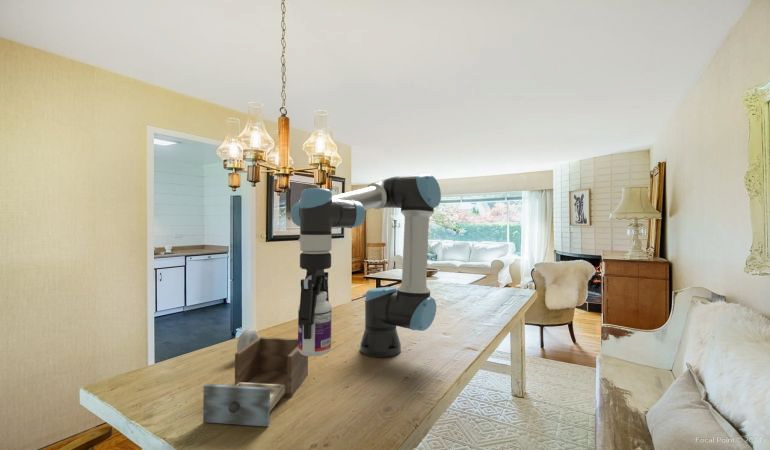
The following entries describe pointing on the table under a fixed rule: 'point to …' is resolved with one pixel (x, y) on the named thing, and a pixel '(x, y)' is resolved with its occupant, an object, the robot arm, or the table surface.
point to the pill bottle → (319, 327)
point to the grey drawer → (241, 403)
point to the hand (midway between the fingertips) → (314, 345)
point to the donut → (246, 338)
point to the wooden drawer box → (272, 363)
